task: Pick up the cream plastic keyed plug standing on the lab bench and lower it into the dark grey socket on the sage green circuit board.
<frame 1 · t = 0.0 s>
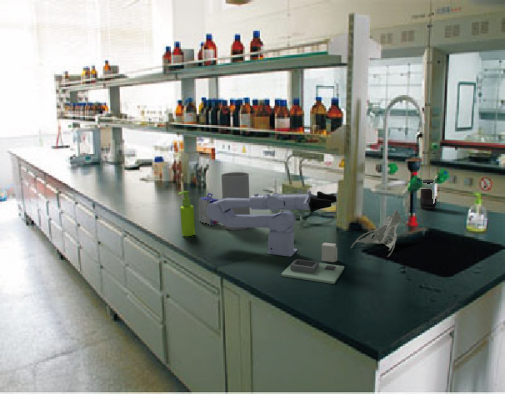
hand: (333, 201, 155), 22 cm above the worktop, tool horizontal, fingers open, 7 cm apart
camera lens: (427, 209, 226), on the worktop
keyed plug: (328, 260, 158), on the worktop
circuit board: (313, 272, 147), on the worktop
skeletal model: (383, 245, 173), on the worktop
ink cartridge box: (209, 223, 211), on the worktop
cylinder vase: (236, 227, 203), on the worktop
soap dispenser: (187, 235, 192), on the worktop
eye dropper bottle: (281, 237, 187), on the worktop
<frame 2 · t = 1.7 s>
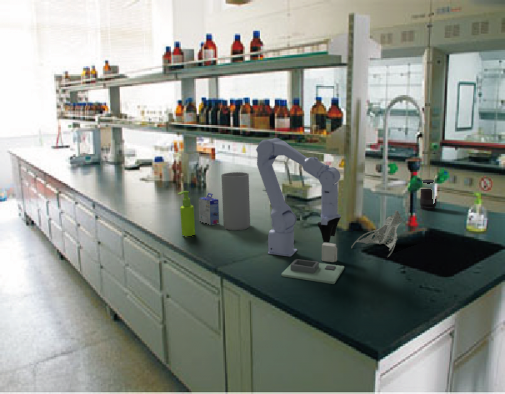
hand: (329, 238, 156), 8 cm above the worktop, tool pointing down, fingers open, 7 cm apart
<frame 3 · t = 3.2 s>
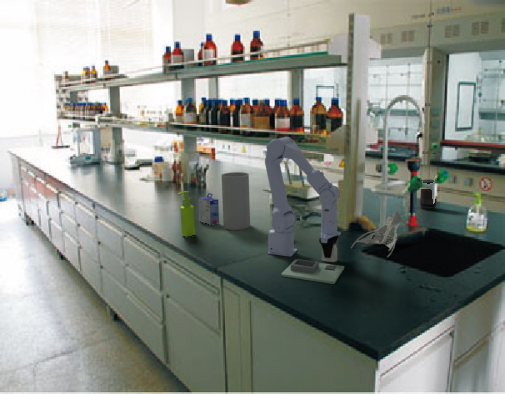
hand: (328, 255, 158), 2 cm above the worktop, tool pointing down, fingers closed on keyed plug, 3 cm apart
keyed plug: (328, 260, 158), on the worktop, touching gripper
everything else where it was.
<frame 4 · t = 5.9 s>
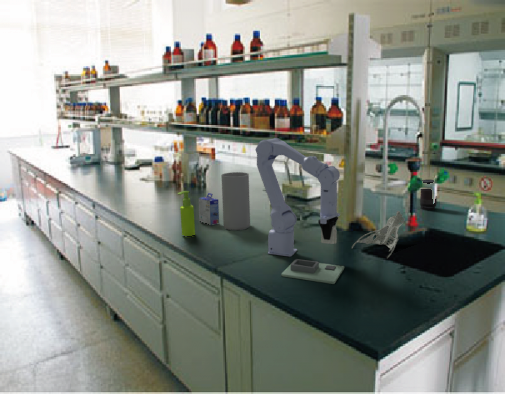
hand: (328, 237, 156), 9 cm above the worktop, tool pointing down, fingers closed on keyed plug, 3 cm apart
keyed plug: (328, 242, 156), point 7 cm above the worktop, touching gripper
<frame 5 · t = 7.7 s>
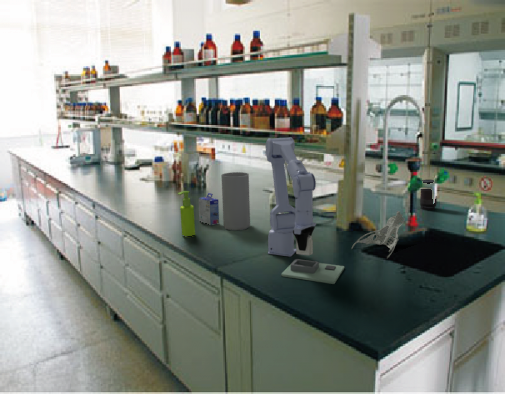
hand: (303, 248, 147), 8 cm above the worktop, tool pointing down, fingers closed on keyed plug, 3 cm apart
keyed plug: (304, 253, 147), point 6 cm above the worktop, touching gripper
when the fingers open (4 cm above the worktop, at t = 8.9 s): keyed plug drops 1 cm, resting on circuit board.
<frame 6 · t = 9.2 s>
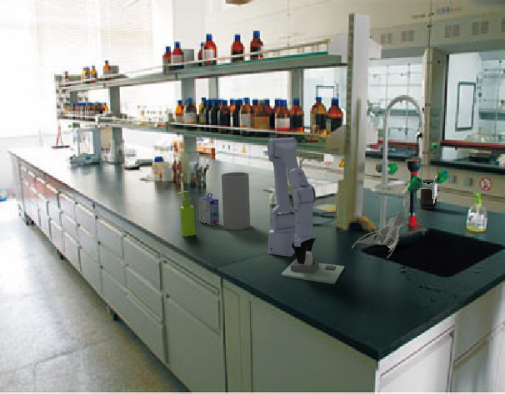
hand: (304, 260, 148), 4 cm above the worktop, tool pointing down, fingers open, 6 cm apart
keyed plug: (304, 268, 149), point 1 cm above the worktop, touching circuit board
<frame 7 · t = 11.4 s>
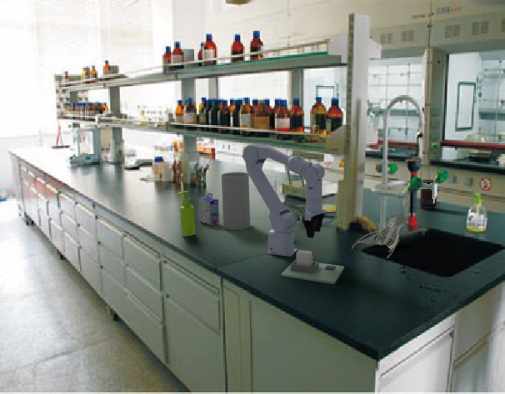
hand: (313, 234, 159), 9 cm above the worktop, tool pointing down, fingers open, 7 cm apart
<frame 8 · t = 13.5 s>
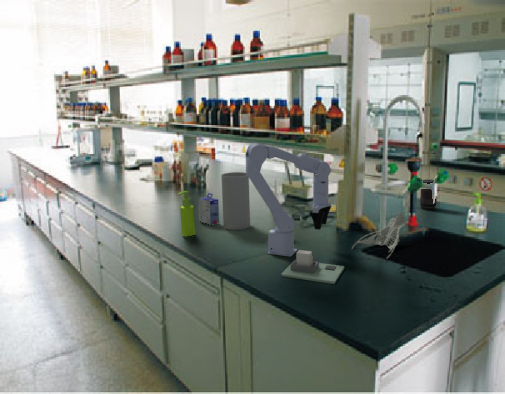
hand: (320, 226, 167), 9 cm above the worktop, tool pointing down, fingers open, 7 cm apart
at the end: keyed plug 0.0 cm from the target spot on the circuit board, point 0.8 cm above the circuit board's base; keyed plug tilted 0°; the gripper is holding nothing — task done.
